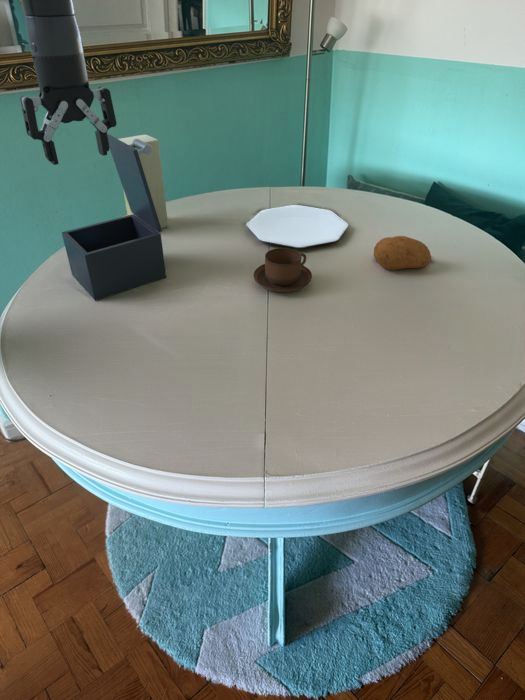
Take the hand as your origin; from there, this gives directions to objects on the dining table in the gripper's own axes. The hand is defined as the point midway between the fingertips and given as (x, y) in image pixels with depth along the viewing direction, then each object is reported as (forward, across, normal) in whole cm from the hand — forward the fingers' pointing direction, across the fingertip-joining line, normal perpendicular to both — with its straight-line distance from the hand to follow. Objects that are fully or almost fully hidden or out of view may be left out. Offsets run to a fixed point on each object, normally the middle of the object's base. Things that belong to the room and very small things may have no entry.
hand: (79, 158), depth 88 cm
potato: (+26, -56, +28) cm, 68 cm away
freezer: (+27, -5, -5) cm, 28 cm away
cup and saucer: (+27, -31, +18) cm, 45 cm away
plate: (+26, -50, -1) cm, 57 cm away
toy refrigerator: (+27, -22, -26) cm, 43 cm away
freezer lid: (+8, -11, -5) cm, 15 cm away
